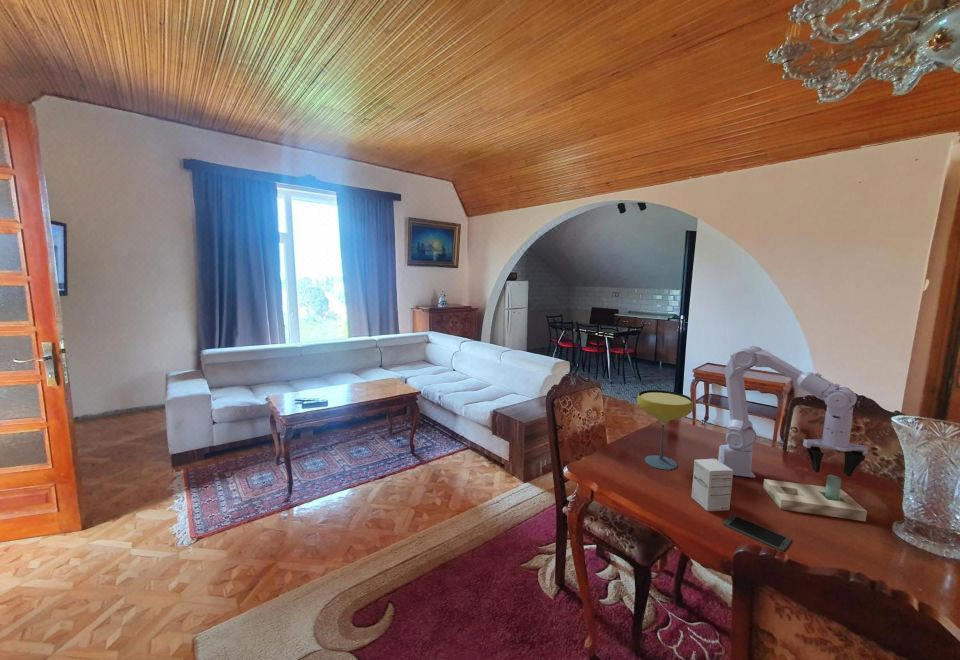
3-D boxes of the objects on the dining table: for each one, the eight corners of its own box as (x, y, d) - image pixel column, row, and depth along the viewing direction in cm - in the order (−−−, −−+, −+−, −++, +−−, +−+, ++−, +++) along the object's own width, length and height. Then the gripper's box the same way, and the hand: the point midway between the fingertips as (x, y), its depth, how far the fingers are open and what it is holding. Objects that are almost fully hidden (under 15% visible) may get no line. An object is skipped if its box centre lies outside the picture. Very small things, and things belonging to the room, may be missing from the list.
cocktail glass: (635, 448, 151) (638, 387, 148) (686, 457, 144) (691, 393, 140) (632, 468, 135) (636, 401, 132) (690, 479, 127) (695, 408, 124)
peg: (827, 508, 111) (831, 479, 110) (821, 502, 114) (825, 474, 113) (840, 509, 111) (843, 480, 109) (833, 503, 113) (837, 475, 112)
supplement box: (690, 497, 117) (693, 458, 115) (713, 496, 118) (716, 457, 116) (706, 512, 110) (709, 470, 108) (730, 510, 110) (734, 469, 109)
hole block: (780, 508, 111) (781, 499, 111) (763, 487, 122) (764, 479, 122) (865, 521, 105) (867, 511, 105) (839, 497, 117) (840, 488, 116)
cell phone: (731, 515, 109) (731, 513, 109) (792, 541, 98) (792, 539, 98) (721, 525, 104) (721, 522, 104) (783, 554, 93) (783, 551, 93)
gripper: (814, 431, 109) (808, 475, 111) (878, 437, 105) (871, 483, 106) (801, 422, 116) (796, 464, 117) (861, 428, 111) (855, 471, 113)
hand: (831, 472), depth 112 cm, fingers open, 7 cm apart
